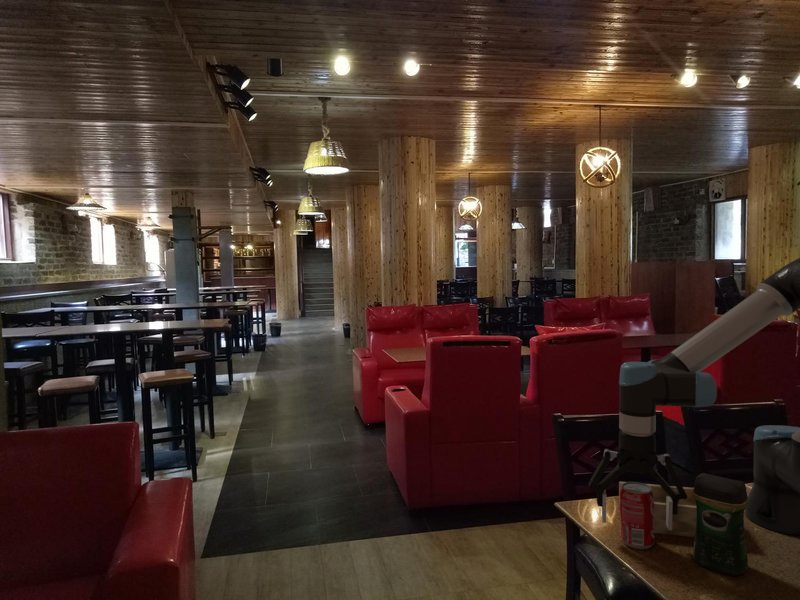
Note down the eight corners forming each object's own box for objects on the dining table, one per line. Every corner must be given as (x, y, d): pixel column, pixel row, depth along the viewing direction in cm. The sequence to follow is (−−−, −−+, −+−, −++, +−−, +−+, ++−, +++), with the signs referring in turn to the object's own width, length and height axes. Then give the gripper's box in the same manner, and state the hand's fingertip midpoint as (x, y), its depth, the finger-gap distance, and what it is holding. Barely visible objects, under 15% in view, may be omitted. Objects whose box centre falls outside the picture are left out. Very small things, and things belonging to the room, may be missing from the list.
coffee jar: (751, 565, 111) (752, 478, 110) (741, 581, 105) (742, 489, 104) (700, 549, 117) (700, 466, 116) (688, 563, 112) (688, 477, 111)
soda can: (658, 552, 116) (658, 494, 116) (623, 549, 118) (623, 492, 117) (649, 536, 123) (650, 481, 123) (617, 534, 125) (616, 480, 124)
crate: (714, 517, 132) (714, 489, 132) (729, 541, 121) (729, 510, 120) (619, 507, 138) (619, 481, 138) (624, 529, 127) (624, 500, 127)
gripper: (695, 430, 119) (693, 522, 120) (578, 422, 126) (577, 509, 128) (703, 441, 112) (701, 539, 113) (579, 432, 119) (578, 524, 120)
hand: (635, 523), depth 120 cm, fingers open, 13 cm apart
